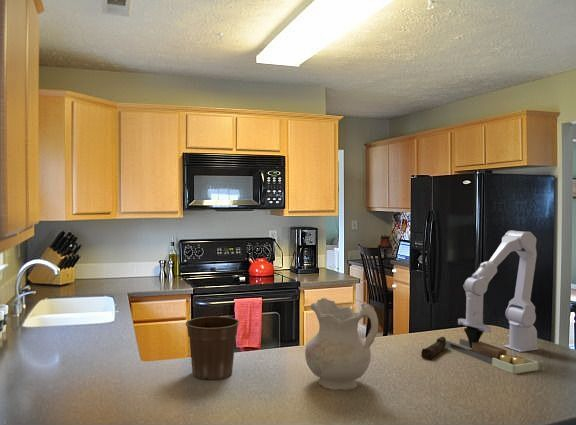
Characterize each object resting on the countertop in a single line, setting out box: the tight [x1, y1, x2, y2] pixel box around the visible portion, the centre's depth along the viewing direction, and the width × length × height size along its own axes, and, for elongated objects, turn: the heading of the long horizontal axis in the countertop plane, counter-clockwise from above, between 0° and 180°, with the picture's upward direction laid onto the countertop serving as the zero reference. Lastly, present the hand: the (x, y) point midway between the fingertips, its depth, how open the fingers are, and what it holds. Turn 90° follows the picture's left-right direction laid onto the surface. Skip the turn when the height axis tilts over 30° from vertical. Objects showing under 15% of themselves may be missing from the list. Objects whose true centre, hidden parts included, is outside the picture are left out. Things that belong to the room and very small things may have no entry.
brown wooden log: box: [420, 336, 447, 361], centre depth 186 cm, size 19×4×5 cm, turn 142°
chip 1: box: [500, 353, 513, 364], centre depth 175 cm, size 4×4×3 cm
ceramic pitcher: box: [304, 297, 379, 391], centre depth 153 cm, size 22×20×25 cm
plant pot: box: [185, 316, 240, 381], centre depth 159 cm, size 16×16×16 cm
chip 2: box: [512, 355, 525, 365], centre depth 172 cm, size 4×4×3 cm
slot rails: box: [445, 338, 493, 365], centre depth 188 cm, size 9×24×2 cm, turn 24°
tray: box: [491, 354, 540, 375], centre depth 172 cm, size 11×9×2 cm
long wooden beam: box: [471, 340, 507, 360], centre depth 182 cm, size 4×12×4 cm, turn 24°
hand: (473, 348), depth 189 cm, fingers closed
